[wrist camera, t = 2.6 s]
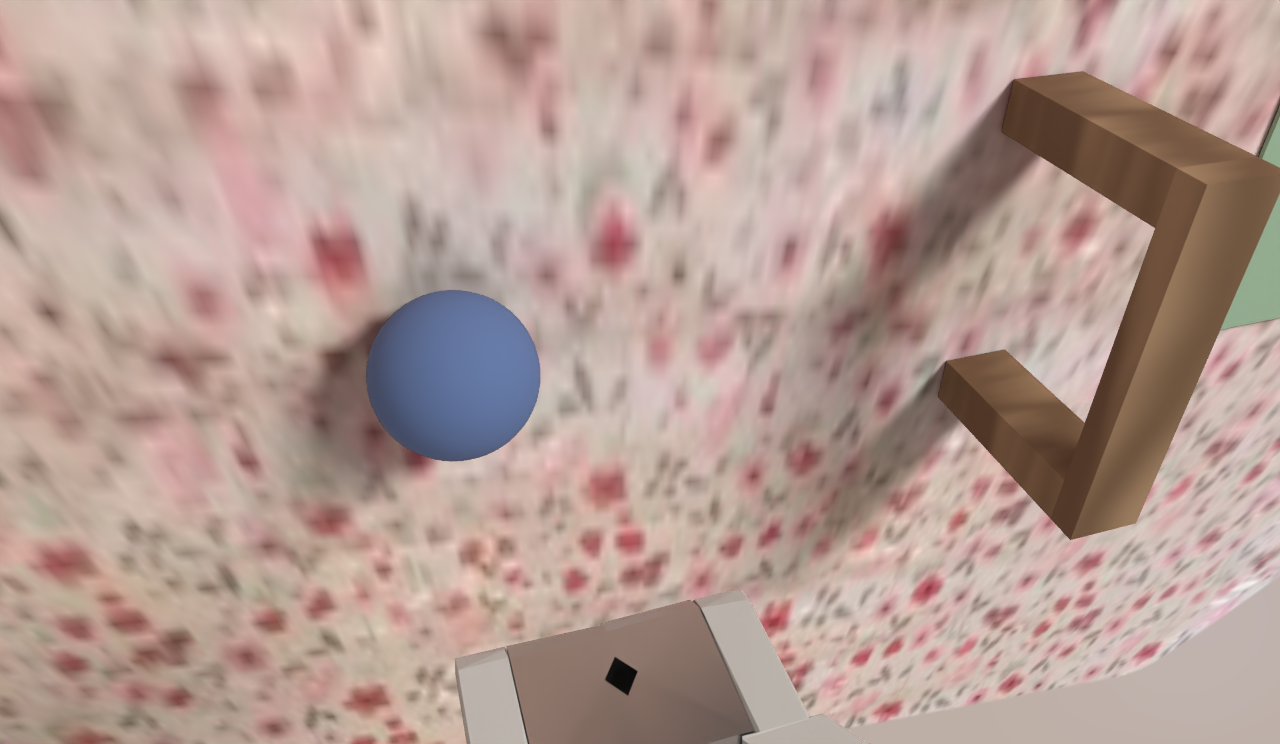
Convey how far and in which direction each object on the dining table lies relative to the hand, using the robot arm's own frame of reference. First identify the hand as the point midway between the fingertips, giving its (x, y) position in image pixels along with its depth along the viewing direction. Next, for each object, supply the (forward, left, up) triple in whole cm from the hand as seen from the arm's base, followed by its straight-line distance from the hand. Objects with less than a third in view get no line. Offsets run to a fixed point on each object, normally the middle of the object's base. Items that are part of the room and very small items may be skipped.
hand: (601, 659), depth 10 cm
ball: (0, -10, -20) cm, 22 cm away
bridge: (+23, -11, -23) cm, 34 cm away
